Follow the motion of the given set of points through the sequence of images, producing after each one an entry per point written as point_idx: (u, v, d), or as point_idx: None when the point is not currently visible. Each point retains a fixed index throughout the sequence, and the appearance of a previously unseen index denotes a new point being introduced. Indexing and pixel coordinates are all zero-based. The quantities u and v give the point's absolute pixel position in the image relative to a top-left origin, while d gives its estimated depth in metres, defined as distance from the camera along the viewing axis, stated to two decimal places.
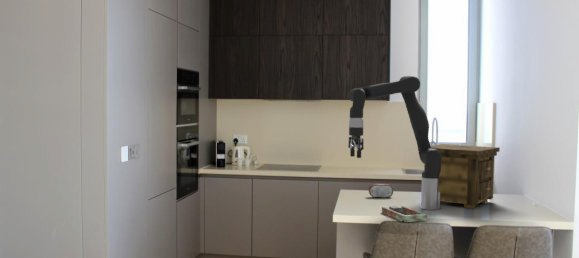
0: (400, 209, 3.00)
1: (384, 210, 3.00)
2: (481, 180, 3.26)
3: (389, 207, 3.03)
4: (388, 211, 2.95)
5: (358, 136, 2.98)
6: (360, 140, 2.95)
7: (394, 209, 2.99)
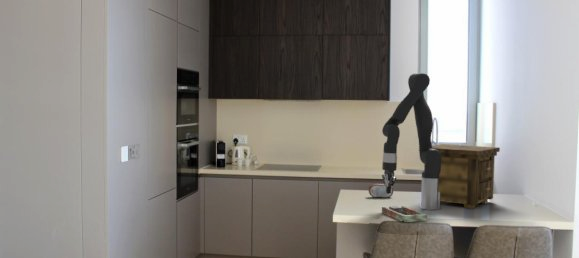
0: (400, 209, 3.00)
1: (384, 210, 3.00)
2: (481, 180, 3.26)
3: (389, 207, 3.03)
4: (388, 211, 2.95)
5: (392, 171, 3.05)
6: (393, 180, 3.03)
7: (394, 209, 2.99)
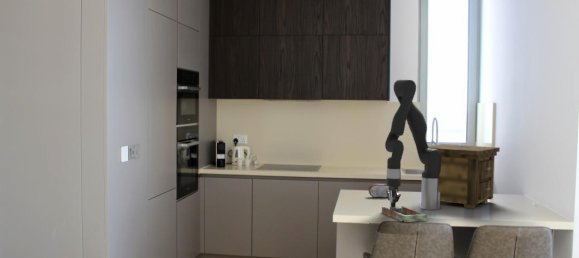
0: (401, 209, 2.98)
1: (384, 210, 3.00)
2: (481, 180, 3.26)
3: (390, 207, 3.01)
4: (388, 211, 2.95)
5: (396, 187, 3.00)
6: (397, 196, 2.98)
7: (395, 209, 2.97)
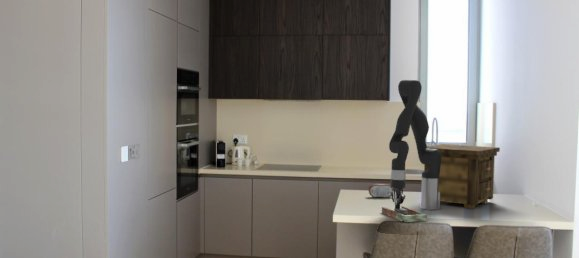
0: (405, 211, 2.93)
1: (384, 210, 3.00)
2: (481, 180, 3.26)
3: (394, 209, 2.97)
4: (388, 211, 2.95)
5: (400, 189, 2.95)
6: (402, 197, 2.93)
7: (399, 211, 2.92)
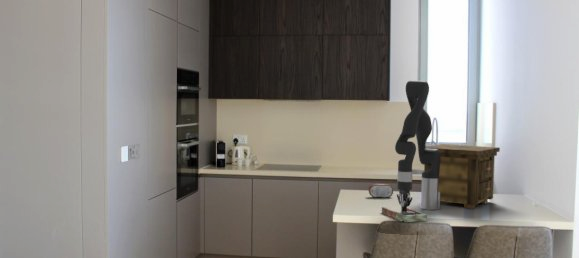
0: (413, 214, 2.86)
1: (384, 210, 3.00)
2: (481, 180, 3.26)
3: None
4: (388, 211, 2.95)
5: (407, 191, 2.88)
6: (408, 200, 2.87)
7: (407, 214, 2.85)
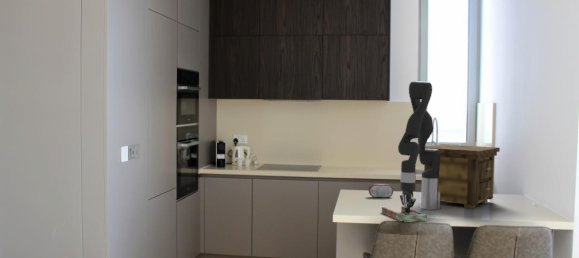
0: None
1: (384, 210, 3.00)
2: (481, 180, 3.26)
3: (405, 213, 2.87)
4: (388, 211, 2.95)
5: (411, 192, 2.85)
6: (412, 201, 2.83)
7: None
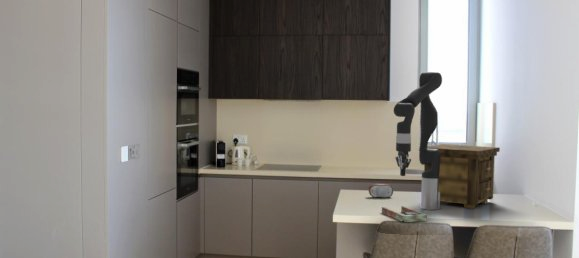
0: None
1: (384, 210, 3.00)
2: (481, 180, 3.26)
3: (405, 213, 2.87)
4: (388, 211, 2.95)
5: (406, 152, 2.90)
6: (407, 161, 2.88)
7: None
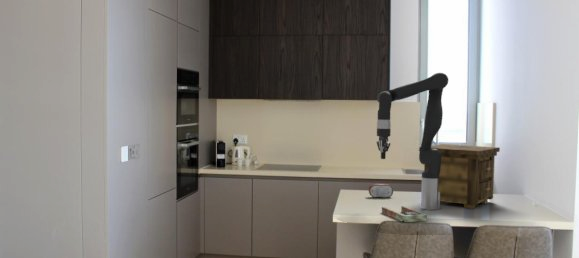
0: None
1: (384, 210, 3.00)
2: (481, 180, 3.26)
3: (405, 213, 2.87)
4: (388, 211, 2.95)
5: (386, 137, 3.14)
6: (387, 145, 3.12)
7: None
